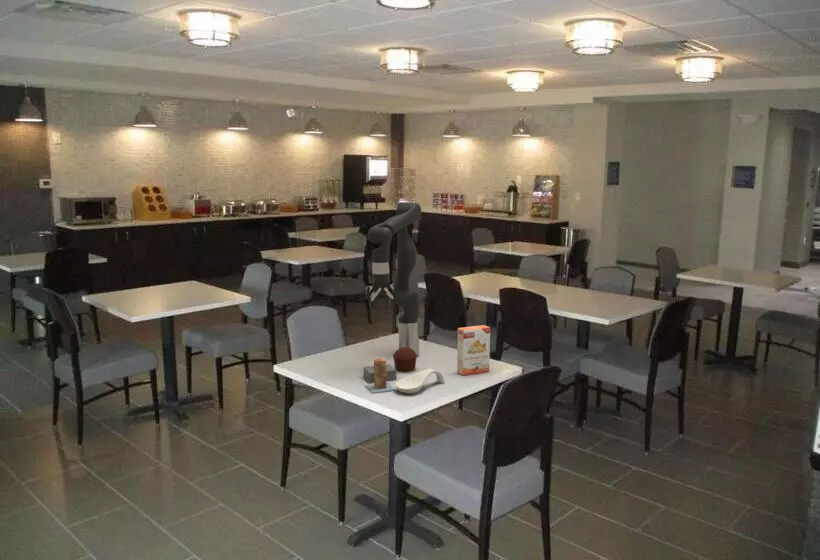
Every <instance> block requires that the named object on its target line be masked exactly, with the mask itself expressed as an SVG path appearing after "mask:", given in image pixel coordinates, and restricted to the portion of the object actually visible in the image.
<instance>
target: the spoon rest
mask: <svg viewBox="0 0 820 560" xmlns="http://www.w3.org/2000/svg"><path fill="white" fill-rule="evenodd" d="M431 374H435V375H436V376H435V377H436V382H437V383H440V384H443V385H444V384H445V382H446V381H445V377H444V375H443V374H442V373H441V372H440V371H438V370H435V369H433V368H427V369H424V370H422V371H419V372H417V373H414V374H412V375H410V376H406V377H404V378H401V379H399V380H396V382H395V383H394V385H395V388H396V390H398V391H399V392H401V393H403V394H417V393H418V392H419V391H420V390H421V389H422V387H423V386H424V384H425V383H426V380H428V377H429V376H430V375H431Z"/></svg>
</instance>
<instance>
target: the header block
mask: <svg viewBox="0 0 820 560" xmlns="http://www.w3.org/2000/svg"><path fill="white" fill-rule="evenodd" d="M362 369H363V373H362V375H363V378H364V379H365V380H366V381H367V382H368V383H369V384H374V365H369V366H368V365H367V366H363V367H362ZM391 381H397V370H396V369H395V367H393V366H392V365H391V364H389V363H386V382H391Z"/></svg>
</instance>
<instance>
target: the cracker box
mask: <svg viewBox="0 0 820 560" xmlns="http://www.w3.org/2000/svg"><path fill="white" fill-rule="evenodd" d="M456 346H457V349H456V350H457V356H456V358H457V359H456V360H457V361H456V365H457V366H456V369H457V370H456V371H457V372H456V373H458V374H460V375H462V376H468V375H475V374H483V373H487V372H490V356H491V355H490V354H491V349H490V348H491V327H490V326H487V325H485V324H482V325H472V326H465V327H458V328H457V345H456Z"/></svg>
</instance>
